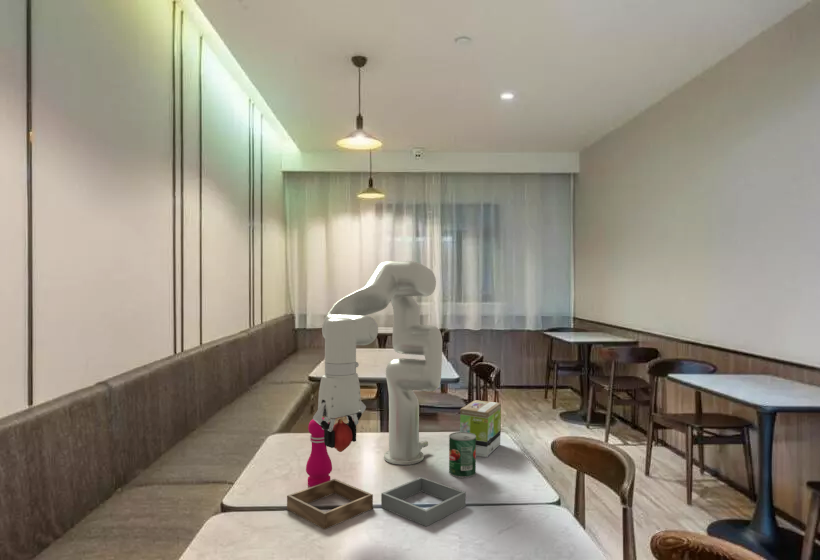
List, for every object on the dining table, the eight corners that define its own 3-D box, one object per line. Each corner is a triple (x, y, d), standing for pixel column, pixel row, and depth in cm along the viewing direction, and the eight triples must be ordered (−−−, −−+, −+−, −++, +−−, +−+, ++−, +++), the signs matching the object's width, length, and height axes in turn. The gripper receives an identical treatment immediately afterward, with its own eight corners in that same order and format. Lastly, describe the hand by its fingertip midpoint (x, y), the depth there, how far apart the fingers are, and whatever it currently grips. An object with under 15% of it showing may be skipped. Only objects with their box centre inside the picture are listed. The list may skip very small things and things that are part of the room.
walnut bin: (334, 491, 144) (334, 478, 144) (372, 508, 134) (372, 494, 133) (287, 509, 133) (287, 495, 133) (324, 529, 123) (324, 514, 123)
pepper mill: (326, 489, 145) (326, 416, 145) (301, 487, 146) (301, 414, 146) (335, 479, 152) (335, 409, 152) (311, 477, 154) (311, 408, 153)
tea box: (488, 458, 170) (488, 411, 170) (458, 453, 175) (458, 408, 174) (501, 444, 184) (501, 401, 184) (473, 440, 188) (473, 398, 188)
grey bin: (421, 489, 145) (421, 476, 145) (465, 506, 135) (465, 492, 135) (381, 507, 134) (381, 493, 134) (426, 526, 124) (426, 511, 124)
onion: (329, 448, 133) (329, 415, 132) (353, 447, 133) (353, 415, 133) (327, 455, 127) (327, 422, 127) (351, 455, 127) (351, 421, 127)
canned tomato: (443, 472, 158) (443, 435, 158) (461, 466, 163) (461, 430, 163) (462, 480, 152) (463, 441, 152) (481, 473, 157) (481, 436, 157)
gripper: (357, 363, 138) (357, 432, 139) (301, 371, 126) (301, 448, 126) (377, 366, 133) (377, 439, 133) (320, 376, 121) (320, 455, 121)
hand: (340, 442), depth 130 cm, fingers closed on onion, 5 cm apart
